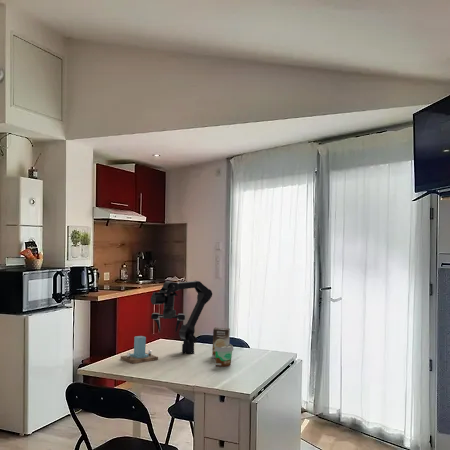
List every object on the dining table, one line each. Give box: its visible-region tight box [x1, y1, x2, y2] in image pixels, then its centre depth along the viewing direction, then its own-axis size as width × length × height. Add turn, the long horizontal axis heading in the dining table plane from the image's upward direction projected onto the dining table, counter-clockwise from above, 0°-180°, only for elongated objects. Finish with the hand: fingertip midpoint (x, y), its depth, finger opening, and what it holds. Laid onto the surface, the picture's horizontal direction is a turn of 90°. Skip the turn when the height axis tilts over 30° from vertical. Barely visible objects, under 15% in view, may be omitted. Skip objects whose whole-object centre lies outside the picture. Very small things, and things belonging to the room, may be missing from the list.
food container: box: [215, 343, 235, 368], centre depth 255 cm, size 12×6×10 cm, turn 143°
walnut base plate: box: [120, 352, 159, 364], centre depth 262 cm, size 16×12×2 cm
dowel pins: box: [126, 350, 152, 358], centre depth 262 cm, size 15×2×2 cm, turn 130°
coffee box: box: [211, 327, 231, 359], centre depth 274 cm, size 9×6×16 cm
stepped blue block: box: [130, 335, 149, 359], centre depth 262 cm, size 7×7×10 cm
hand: (167, 331), depth 275 cm, fingers open, 9 cm apart
